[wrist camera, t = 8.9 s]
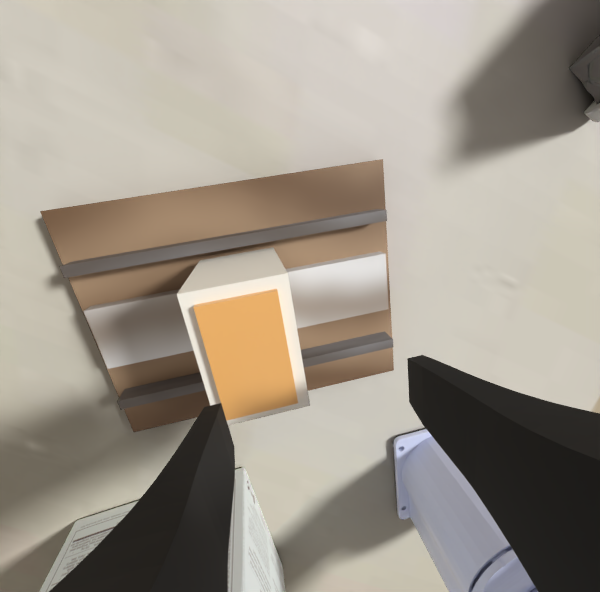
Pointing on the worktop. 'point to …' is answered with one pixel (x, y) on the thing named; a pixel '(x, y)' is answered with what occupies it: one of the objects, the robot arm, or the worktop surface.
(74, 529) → the supplement box
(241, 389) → the rail module
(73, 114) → the worktop surface
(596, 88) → the electrical switch
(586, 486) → the robot arm
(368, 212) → the mounting board
